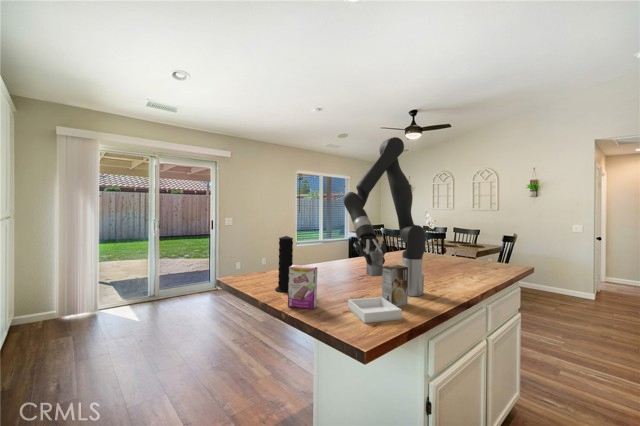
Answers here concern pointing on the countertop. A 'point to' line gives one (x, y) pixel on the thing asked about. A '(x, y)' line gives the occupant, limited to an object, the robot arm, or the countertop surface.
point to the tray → (374, 310)
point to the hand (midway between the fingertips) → (376, 263)
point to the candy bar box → (302, 287)
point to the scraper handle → (375, 264)
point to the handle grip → (284, 262)
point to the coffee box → (395, 284)
